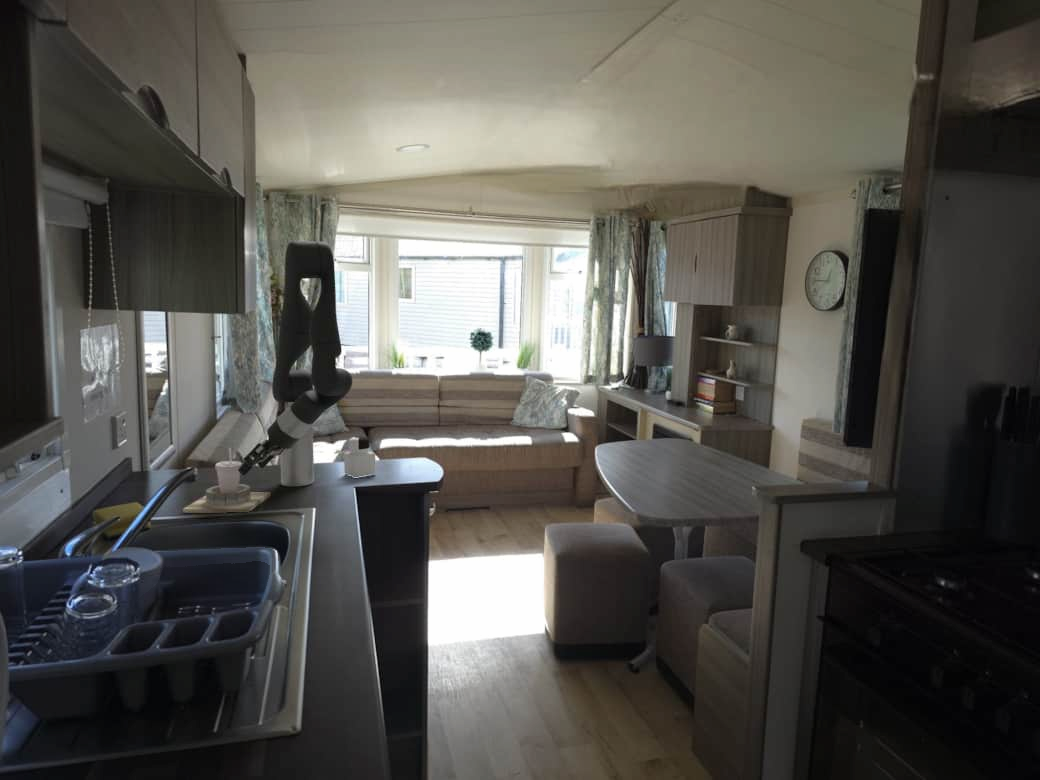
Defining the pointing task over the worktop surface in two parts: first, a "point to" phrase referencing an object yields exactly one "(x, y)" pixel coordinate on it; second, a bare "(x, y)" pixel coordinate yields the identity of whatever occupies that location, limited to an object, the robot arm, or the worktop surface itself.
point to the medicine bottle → (359, 457)
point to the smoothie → (228, 474)
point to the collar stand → (227, 501)
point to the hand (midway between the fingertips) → (250, 469)
